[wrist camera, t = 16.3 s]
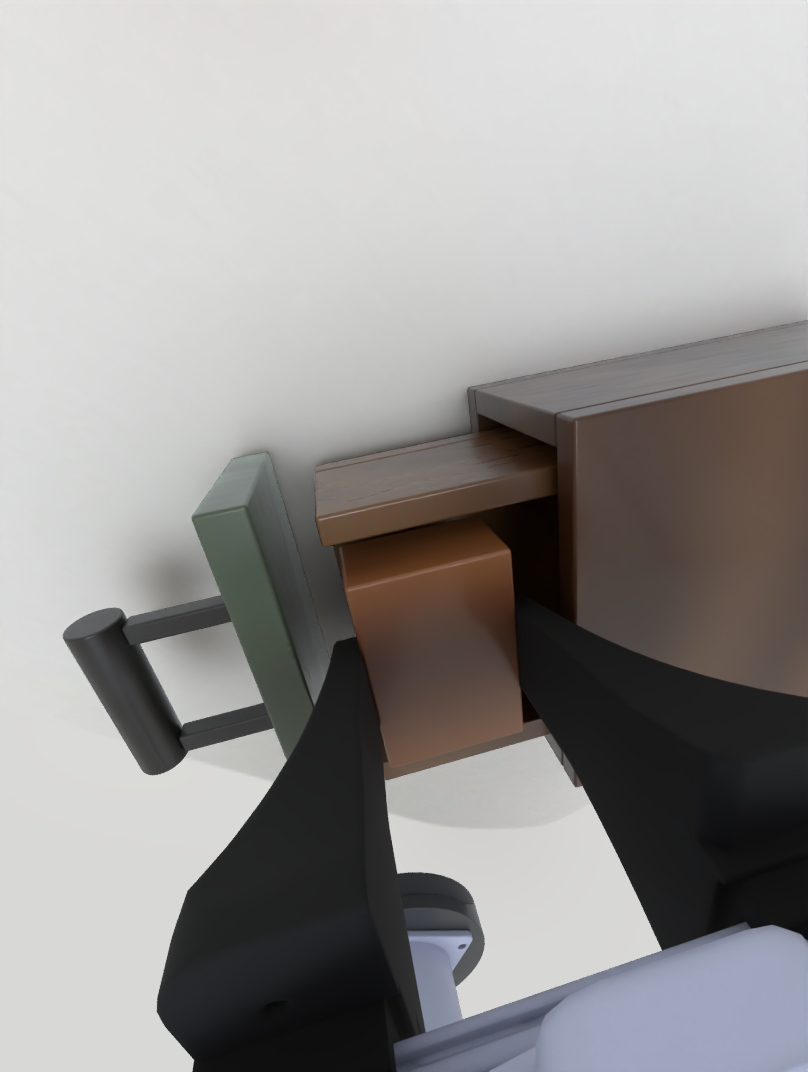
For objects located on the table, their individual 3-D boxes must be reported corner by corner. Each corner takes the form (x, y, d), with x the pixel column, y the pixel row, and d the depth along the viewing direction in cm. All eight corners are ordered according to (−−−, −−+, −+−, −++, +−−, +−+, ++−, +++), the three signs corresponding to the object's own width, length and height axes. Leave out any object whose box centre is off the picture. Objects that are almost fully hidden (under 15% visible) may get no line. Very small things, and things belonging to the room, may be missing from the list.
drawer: (201, 729, 18) (161, 868, 13) (83, 488, 14) (-39, 566, 9) (591, 627, 20) (679, 717, 15) (595, 384, 16) (720, 403, 11)
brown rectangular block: (494, 676, 15) (525, 732, 13) (379, 707, 15) (390, 770, 13) (478, 513, 13) (512, 548, 10) (338, 545, 12) (344, 589, 10)
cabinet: (493, 649, 21) (575, 789, 14) (466, 387, 16) (573, 418, 9) (758, 580, 22) (943, 679, 15) (809, 319, 17) (1109, 305, 11)
